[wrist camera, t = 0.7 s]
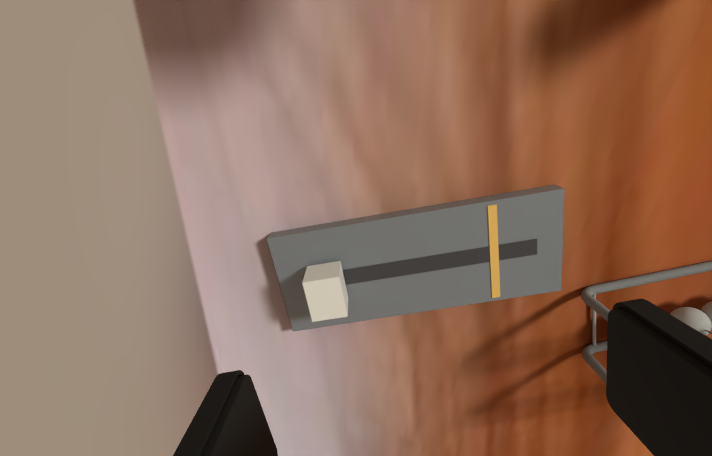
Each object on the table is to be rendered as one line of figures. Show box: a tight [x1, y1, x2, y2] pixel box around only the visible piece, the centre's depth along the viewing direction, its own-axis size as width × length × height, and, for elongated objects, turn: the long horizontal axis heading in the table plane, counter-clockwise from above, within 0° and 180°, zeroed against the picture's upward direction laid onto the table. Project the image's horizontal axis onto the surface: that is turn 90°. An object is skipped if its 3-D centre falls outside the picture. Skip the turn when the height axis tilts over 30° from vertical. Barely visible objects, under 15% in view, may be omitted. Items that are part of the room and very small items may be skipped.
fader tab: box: [302, 261, 348, 322], centre depth 39 cm, size 5×4×4 cm
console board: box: [267, 185, 564, 331], centre depth 41 cm, size 13×34×2 cm, turn 100°
